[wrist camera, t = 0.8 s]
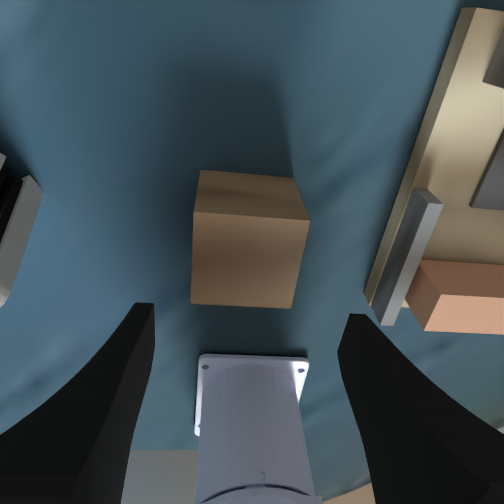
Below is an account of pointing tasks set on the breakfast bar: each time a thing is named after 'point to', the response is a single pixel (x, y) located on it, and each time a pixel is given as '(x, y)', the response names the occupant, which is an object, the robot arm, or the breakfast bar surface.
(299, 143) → the breakfast bar surface
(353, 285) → the breakfast bar surface
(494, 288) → the block
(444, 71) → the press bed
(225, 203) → the block
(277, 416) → the robot arm
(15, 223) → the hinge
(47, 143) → the breakfast bar surface
